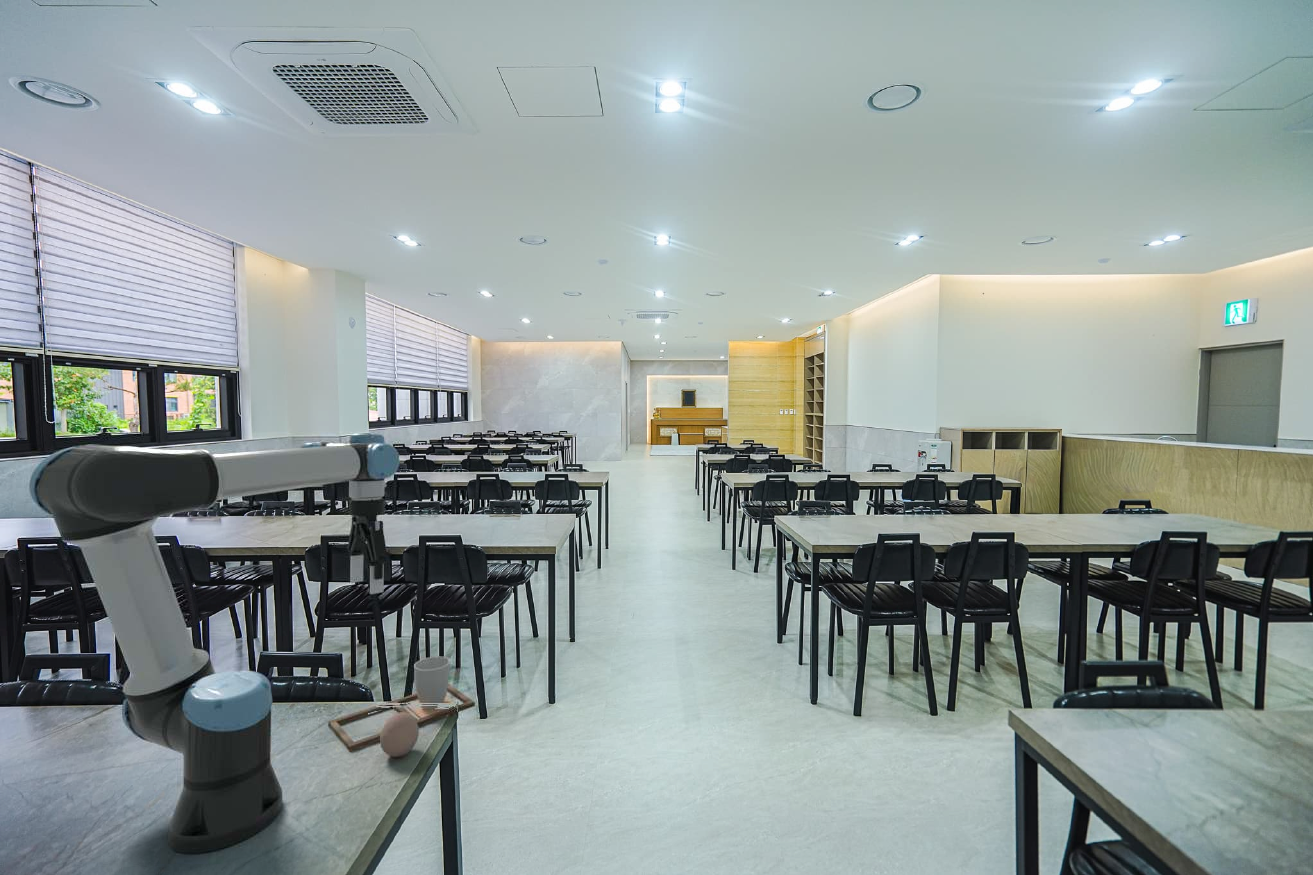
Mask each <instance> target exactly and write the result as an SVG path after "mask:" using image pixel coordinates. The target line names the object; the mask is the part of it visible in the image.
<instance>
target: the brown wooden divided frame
mask: <svg viewBox="0 0 1313 875" xmlns="http://www.w3.org/2000/svg"><path fill="white" fill-rule="evenodd" d="M447 692H448V693H449V694H450V695H452V696H453V697H454V698H456V699H457V700H459V701H460V702H461V704H458V712H457V708H456V707H452V708H449V709H446V710H443V711H441V712H438V713H435V714H432V715H429V716H426V717H424V718H421V719H420V718H416V717H415V716H414V715H413V714H412V713H411V712H410V711H408V710H407V708H405V707H403V706H402V704H401V705H381V704H378V705H379V706H402V707H394V708H392V709H393V710H394V711H395V712H396V711H397V712H398V713H401V712H405V713H408V714H410V715H411V716H412V717H413V718H414V719H415V721H416V722H417V725H418V727H422V726H425V725H427V724H430V723H431V722H435V721H437V720H441V719H443V718H446V717H448V716H447V715H449V716H451V715H455V714H457V713H459V712H462V711H465V710H468V709H471V708H474V707H475V705H476V702H475V701H474V700H473V699H471V698H470V697H468V696H467V695H465V694H464V693H462V692H461V691H459V690H458V689H457V688H455V687H454V686H452V685H451V684H449V683H448V688H447ZM417 700H418V697H417V692H415V693H413V694H409V695H406V696H405V697H401V698H397V699H395V700H391V701H388V702H386V703H404V704H408V703H411V702H414V701H417ZM376 706H377V705H375V706H371V707H369V708H365V709H363V710H359V711H357V712H353V713H350V714H346V715H343V716H341V717H337V718H334V719H331V720H328V721H327V724H328V727H329V728H330V729H332V730H331V731H332V732H333V733H334V734H335V736H336V737H337V738H338V740H339V741H341V743H342V744H343V745H344V747H345V748H346V749H347V750H348V751H349V752H352V751H355V750H357V749H360V748H364V747H366V746H368V745H371V744H373V743H374V744H375V743H377V742H380V735H381V732H378V733H376V734H373V735H370V736H368V737H365V738H362V739H359V740H356V741H354V740H353V739H352V738H351V737H350V735H348V734H347V732H346V731H345V730H344V729H343V727H342V726H341V725H343V724H345V723H349V722H352V721H356V720H358V719H360V718H363V717H366V715H367V716H369V715H368V713H371V712H374V711H379V710H383V711H385V710H384V709H386V710H388V709H390V708H381V707H376ZM397 712H396V713H397ZM445 716H446V717H445Z"/></svg>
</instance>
